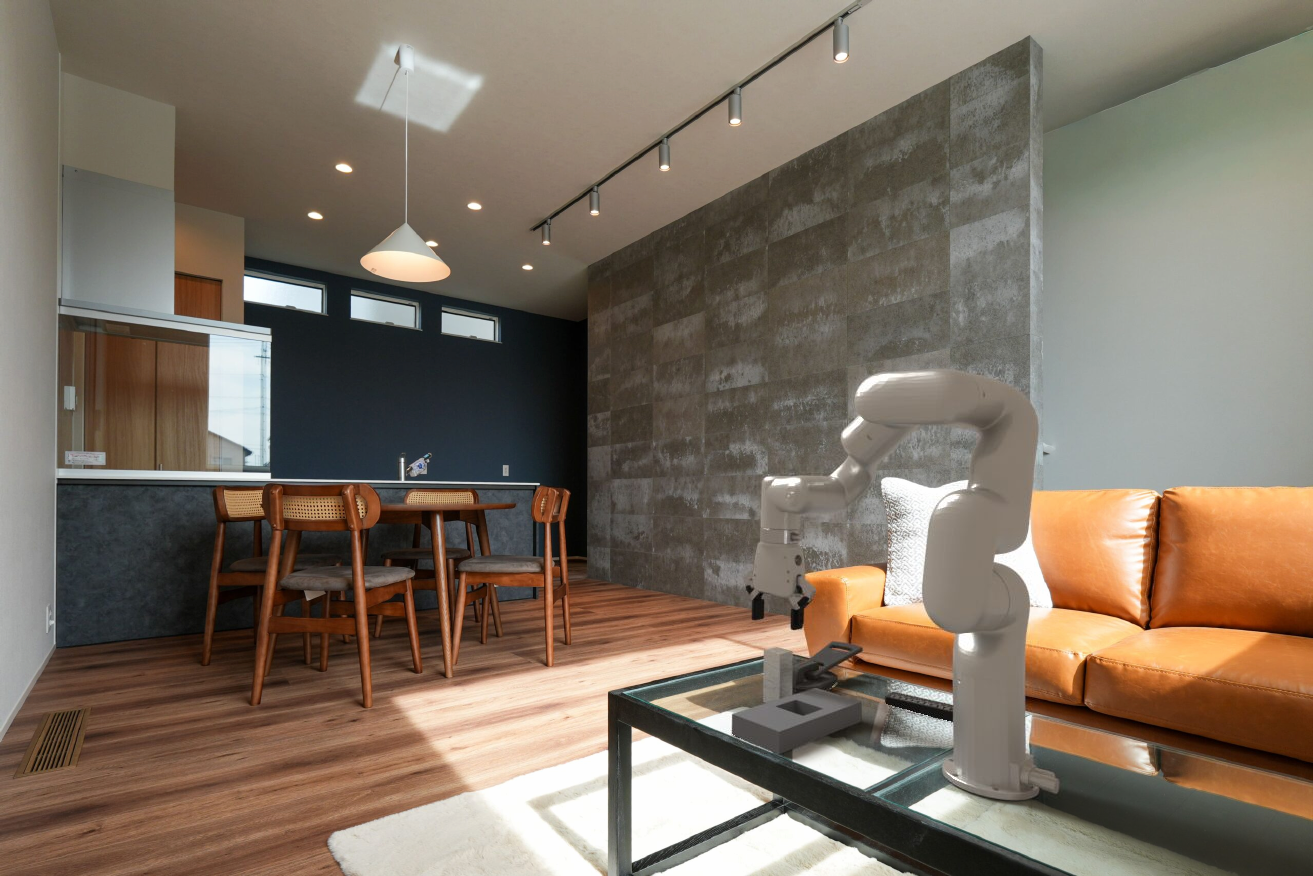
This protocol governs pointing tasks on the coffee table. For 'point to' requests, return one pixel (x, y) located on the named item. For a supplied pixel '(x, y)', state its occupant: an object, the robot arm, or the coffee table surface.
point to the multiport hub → (921, 705)
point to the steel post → (777, 674)
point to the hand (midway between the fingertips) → (776, 624)
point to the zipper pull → (812, 676)
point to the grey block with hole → (796, 719)
